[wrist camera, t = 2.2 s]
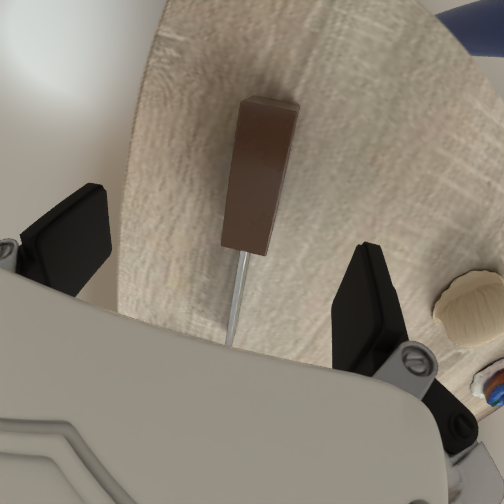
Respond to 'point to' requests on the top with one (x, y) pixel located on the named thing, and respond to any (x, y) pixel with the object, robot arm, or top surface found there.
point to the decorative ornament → (472, 309)
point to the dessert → (490, 384)
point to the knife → (255, 184)
